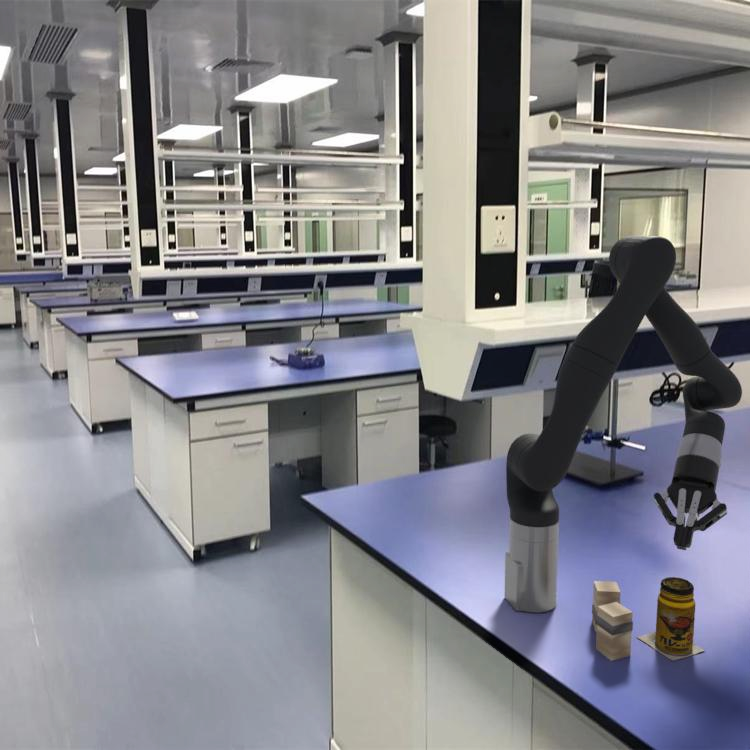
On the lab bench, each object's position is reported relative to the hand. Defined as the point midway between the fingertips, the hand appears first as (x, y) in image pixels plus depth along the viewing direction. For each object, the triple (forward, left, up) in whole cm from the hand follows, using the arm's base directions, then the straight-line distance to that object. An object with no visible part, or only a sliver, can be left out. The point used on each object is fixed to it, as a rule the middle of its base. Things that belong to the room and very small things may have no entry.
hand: (681, 547), depth 131 cm
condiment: (-4, -4, -16) cm, 17 cm away
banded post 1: (-12, +4, -16) cm, 20 cm away
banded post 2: (-15, -4, -16) cm, 22 cm away
